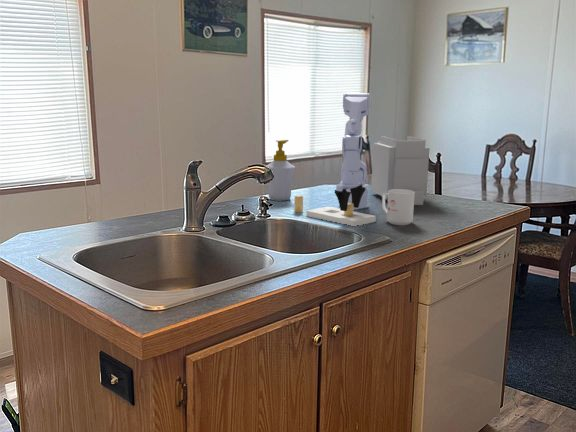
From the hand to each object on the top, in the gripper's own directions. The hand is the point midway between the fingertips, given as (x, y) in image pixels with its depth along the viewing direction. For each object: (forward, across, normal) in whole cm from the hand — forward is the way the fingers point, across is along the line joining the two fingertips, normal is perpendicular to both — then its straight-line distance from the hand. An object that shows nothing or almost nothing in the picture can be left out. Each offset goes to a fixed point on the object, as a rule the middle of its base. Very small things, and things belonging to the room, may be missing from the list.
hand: (349, 209), depth 193 cm
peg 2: (+4, 0, 0) cm, 4 cm away
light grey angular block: (+5, -51, -8) cm, 52 cm away
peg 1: (+4, +1, -22) cm, 23 cm away
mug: (+4, -10, +13) cm, 17 cm away
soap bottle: (+5, -14, -44) cm, 46 cm away
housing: (+4, 0, -4) cm, 6 cm away
